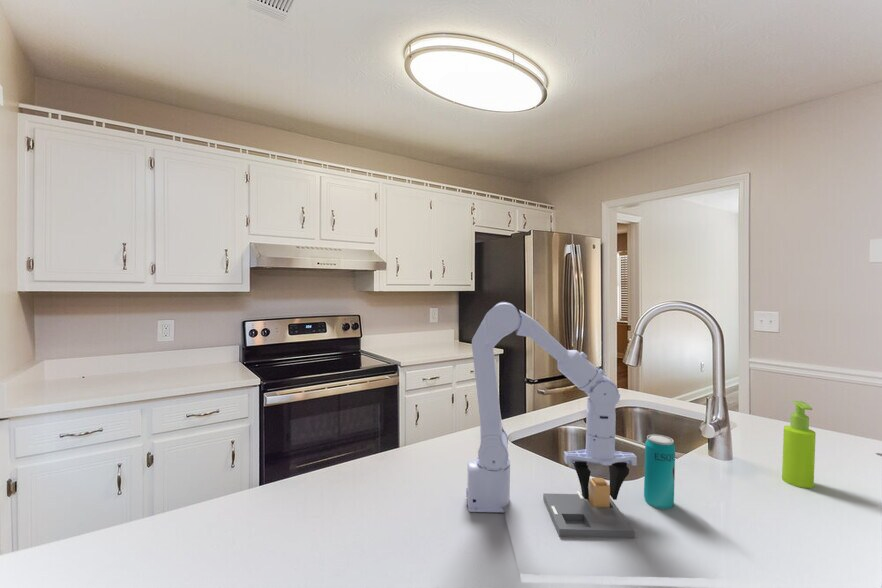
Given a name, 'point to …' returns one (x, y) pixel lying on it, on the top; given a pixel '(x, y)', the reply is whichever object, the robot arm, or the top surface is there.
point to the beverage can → (659, 471)
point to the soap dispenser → (799, 449)
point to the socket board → (586, 517)
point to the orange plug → (599, 493)
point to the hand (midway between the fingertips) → (599, 497)
